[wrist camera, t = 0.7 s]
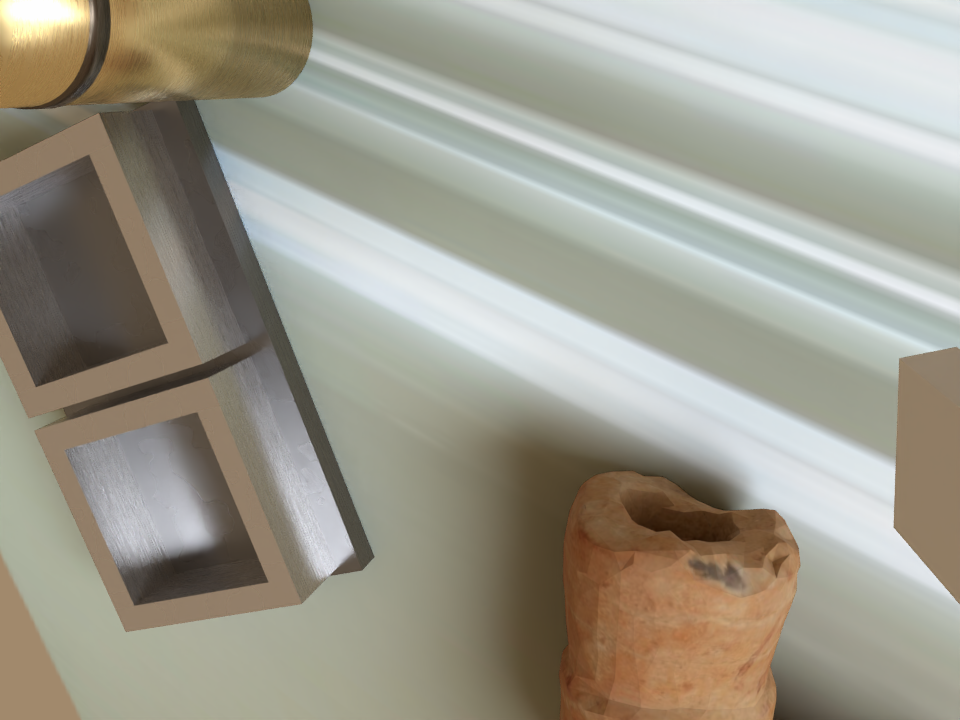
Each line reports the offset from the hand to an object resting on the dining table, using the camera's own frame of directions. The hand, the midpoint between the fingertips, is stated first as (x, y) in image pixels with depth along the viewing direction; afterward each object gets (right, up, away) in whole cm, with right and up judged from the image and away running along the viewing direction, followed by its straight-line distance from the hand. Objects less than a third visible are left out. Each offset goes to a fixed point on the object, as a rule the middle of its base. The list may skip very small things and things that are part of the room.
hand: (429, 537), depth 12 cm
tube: (-7, +13, +17) cm, 23 cm away
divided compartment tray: (-11, +2, +22) cm, 25 cm away
